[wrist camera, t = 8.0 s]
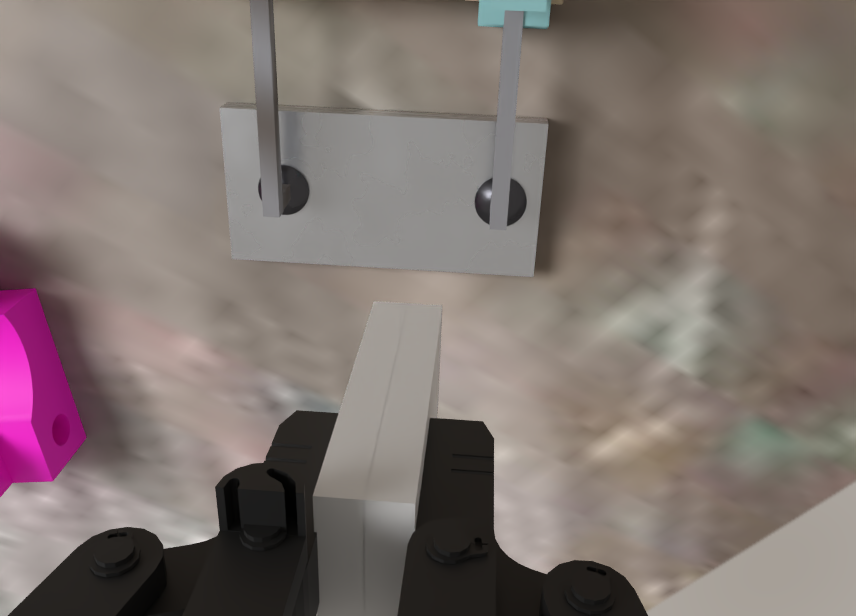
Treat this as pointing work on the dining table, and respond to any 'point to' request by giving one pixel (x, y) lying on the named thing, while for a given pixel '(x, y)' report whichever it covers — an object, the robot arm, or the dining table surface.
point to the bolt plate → (385, 190)
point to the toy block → (32, 395)
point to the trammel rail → (271, 107)
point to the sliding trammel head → (508, 87)
